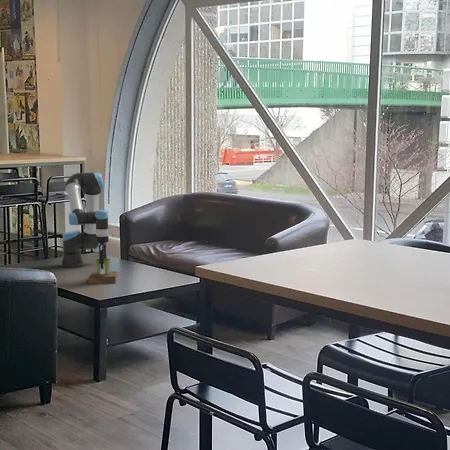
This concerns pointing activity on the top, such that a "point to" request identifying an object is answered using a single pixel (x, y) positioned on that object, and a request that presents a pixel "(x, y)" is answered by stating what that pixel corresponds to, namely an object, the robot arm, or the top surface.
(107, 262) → the plant pot
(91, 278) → the walnut plinth
